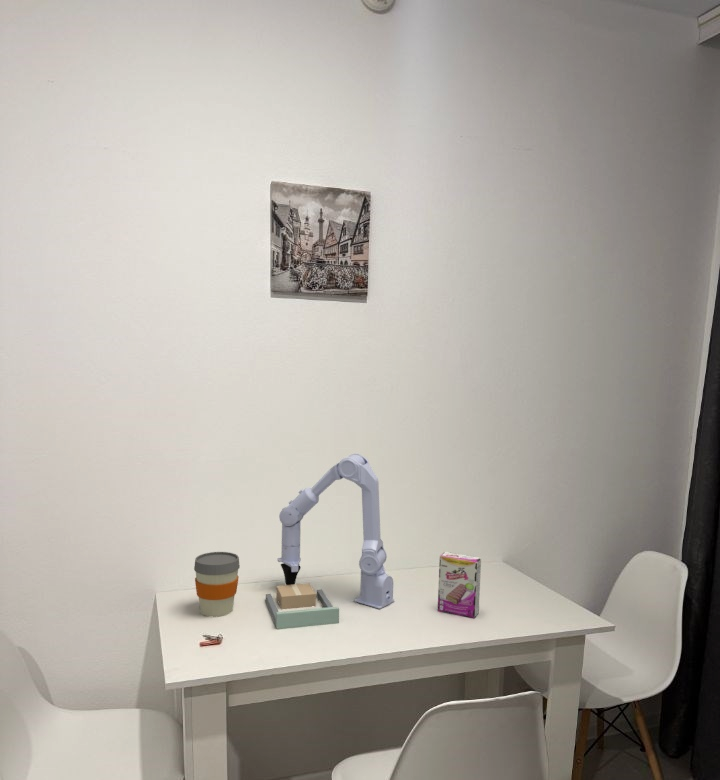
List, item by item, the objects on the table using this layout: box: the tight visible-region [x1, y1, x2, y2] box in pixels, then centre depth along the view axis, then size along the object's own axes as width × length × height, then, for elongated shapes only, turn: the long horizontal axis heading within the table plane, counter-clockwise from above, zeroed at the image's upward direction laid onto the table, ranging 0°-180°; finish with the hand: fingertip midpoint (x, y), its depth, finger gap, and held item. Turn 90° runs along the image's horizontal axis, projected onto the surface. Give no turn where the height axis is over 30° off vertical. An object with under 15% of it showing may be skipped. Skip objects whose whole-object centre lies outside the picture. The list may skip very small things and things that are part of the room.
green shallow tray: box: [265, 589, 340, 630], centre depth 181 cm, size 20×17×4 cm
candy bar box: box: [437, 551, 482, 619], centre depth 183 cm, size 11×5×16 cm, turn 65°
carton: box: [276, 583, 317, 610], centre depth 188 cm, size 9×10×4 cm
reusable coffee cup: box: [193, 551, 240, 618], centre depth 180 cm, size 12×12×15 cm
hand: (290, 587), depth 197 cm, fingers closed
